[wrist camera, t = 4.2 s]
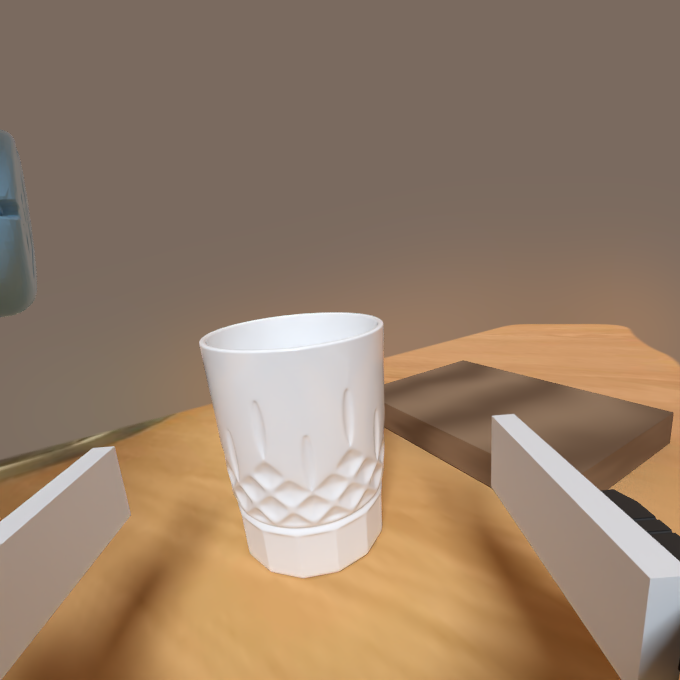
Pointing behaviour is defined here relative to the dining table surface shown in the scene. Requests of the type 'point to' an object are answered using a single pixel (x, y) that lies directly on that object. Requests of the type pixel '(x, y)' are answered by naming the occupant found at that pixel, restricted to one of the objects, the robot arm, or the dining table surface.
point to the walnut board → (531, 408)
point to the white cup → (302, 435)
